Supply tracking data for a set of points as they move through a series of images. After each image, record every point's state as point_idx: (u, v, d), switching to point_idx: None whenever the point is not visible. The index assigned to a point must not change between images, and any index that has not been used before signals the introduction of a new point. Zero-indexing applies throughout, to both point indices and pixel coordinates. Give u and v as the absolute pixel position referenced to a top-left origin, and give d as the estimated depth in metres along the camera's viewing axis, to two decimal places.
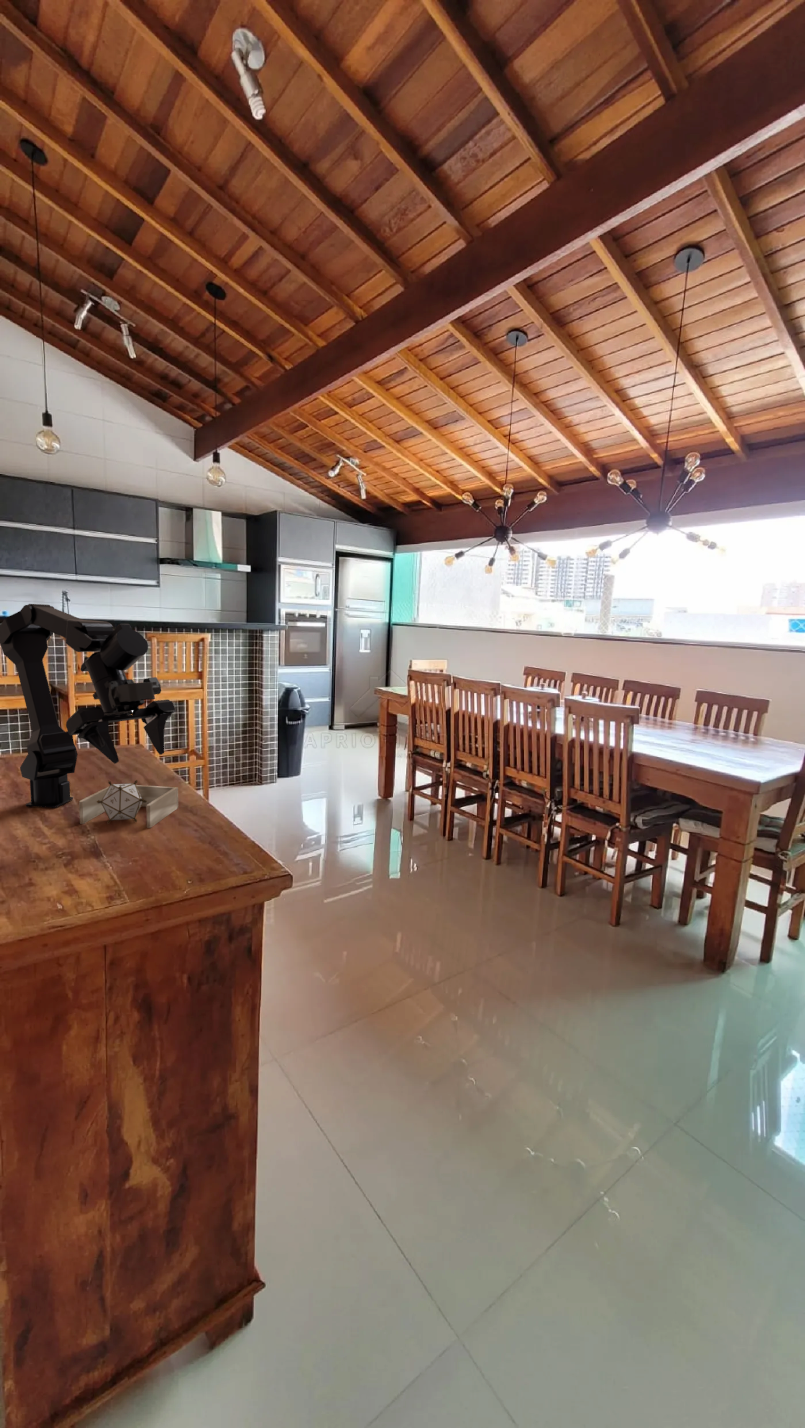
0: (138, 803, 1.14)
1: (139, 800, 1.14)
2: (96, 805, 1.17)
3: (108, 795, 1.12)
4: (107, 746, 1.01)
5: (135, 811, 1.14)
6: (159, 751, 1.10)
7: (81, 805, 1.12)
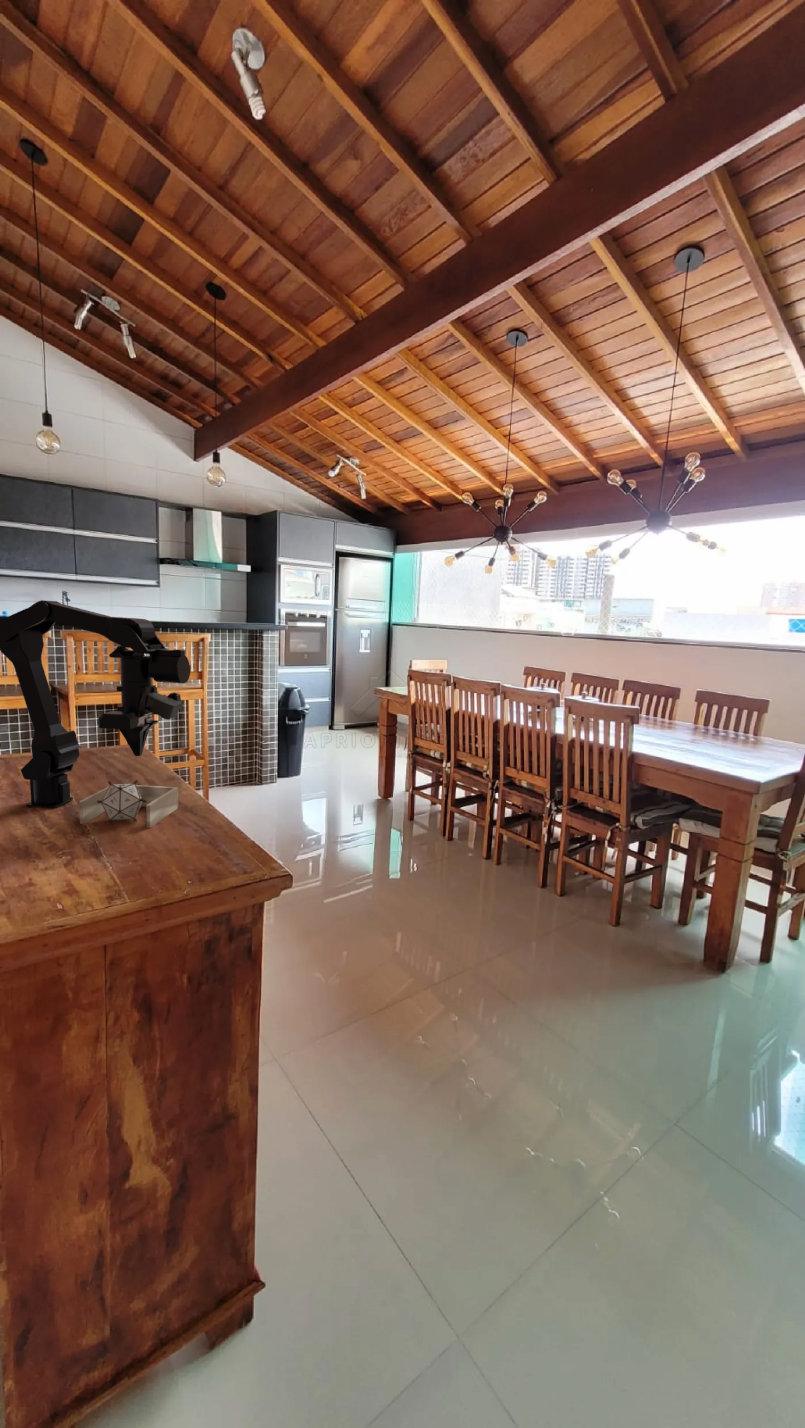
0: (138, 803, 1.14)
1: (139, 800, 1.14)
2: (96, 805, 1.17)
3: (108, 795, 1.12)
4: (138, 743, 1.19)
5: (135, 811, 1.14)
6: None
7: (81, 805, 1.12)
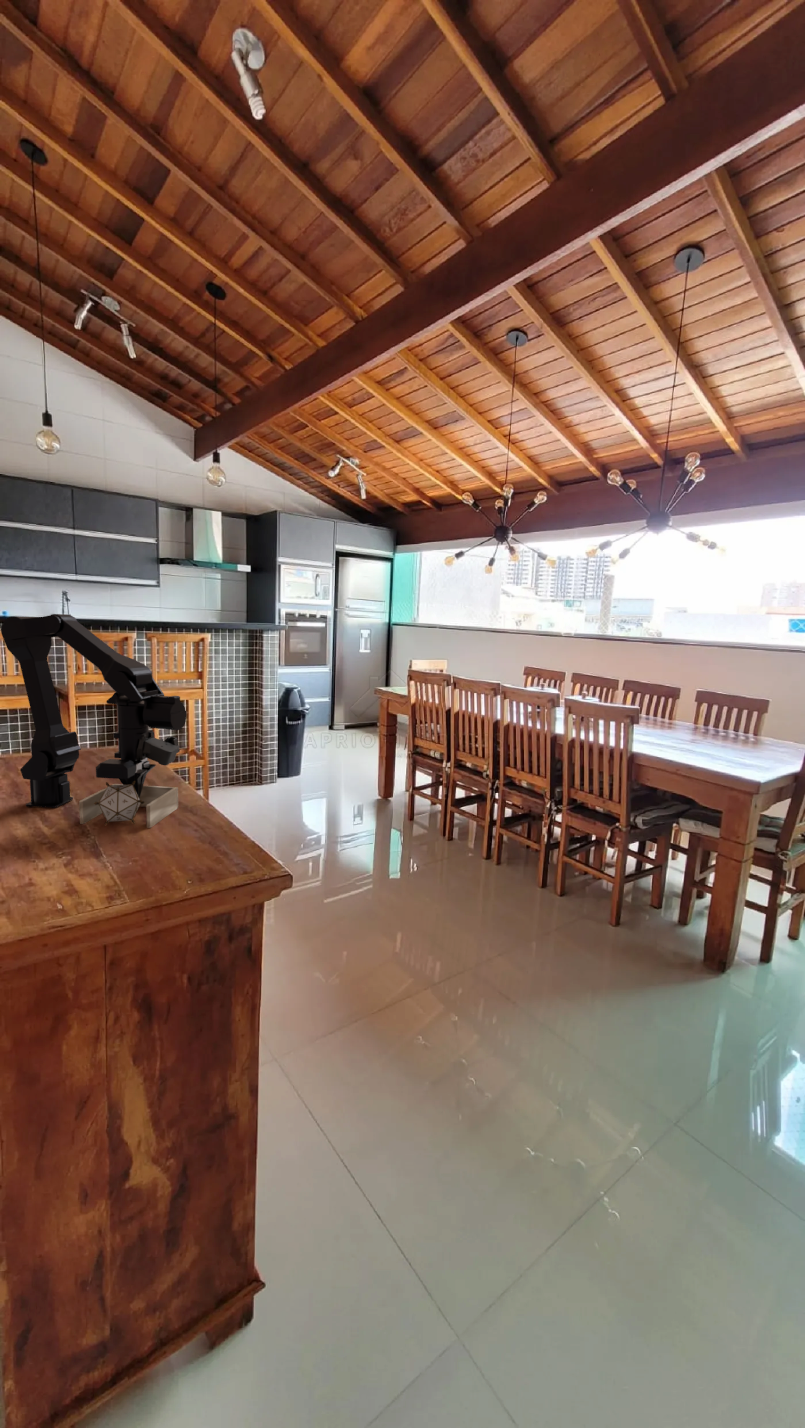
0: (136, 804, 1.13)
1: (137, 801, 1.13)
2: (96, 805, 1.17)
3: (106, 796, 1.11)
4: (136, 788, 1.19)
5: (133, 812, 1.13)
6: None
7: (81, 805, 1.12)
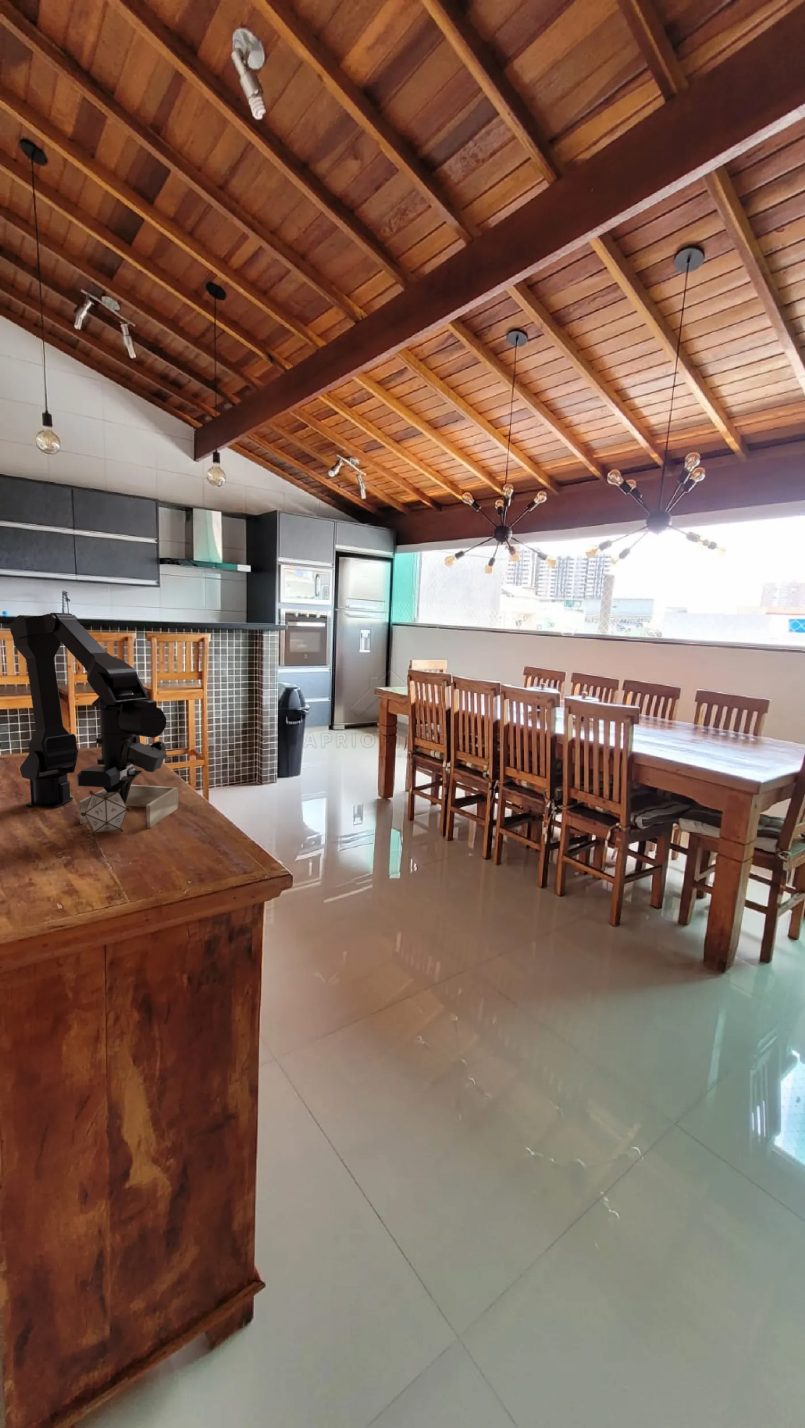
0: (125, 812, 1.08)
1: (126, 809, 1.08)
2: None
3: (92, 806, 1.06)
4: (121, 796, 1.12)
5: (121, 821, 1.08)
6: None
7: (81, 805, 1.12)
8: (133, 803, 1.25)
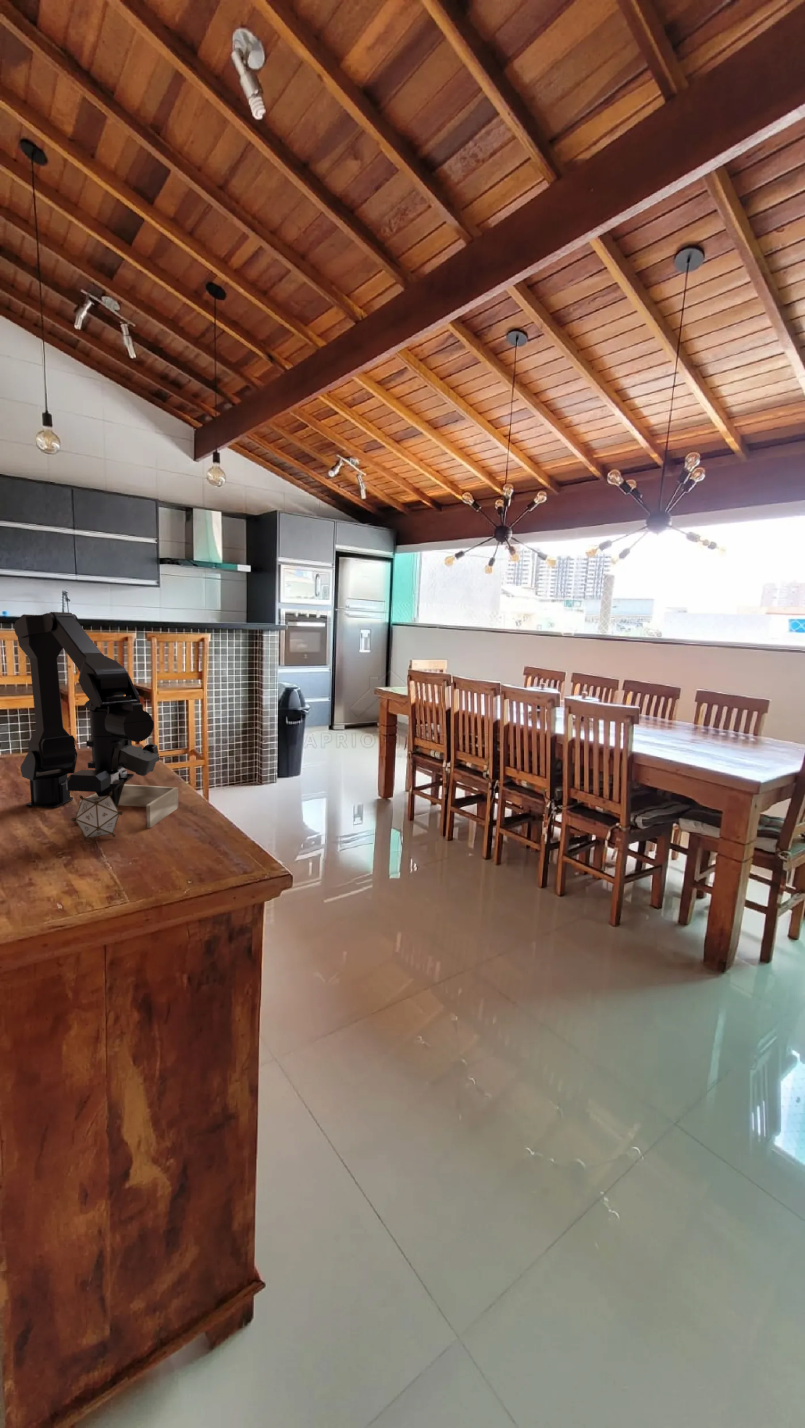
0: (117, 817, 1.05)
1: (118, 813, 1.05)
2: None
3: (83, 811, 1.03)
4: (113, 800, 1.10)
5: (113, 825, 1.06)
6: None
7: None
8: (133, 803, 1.25)
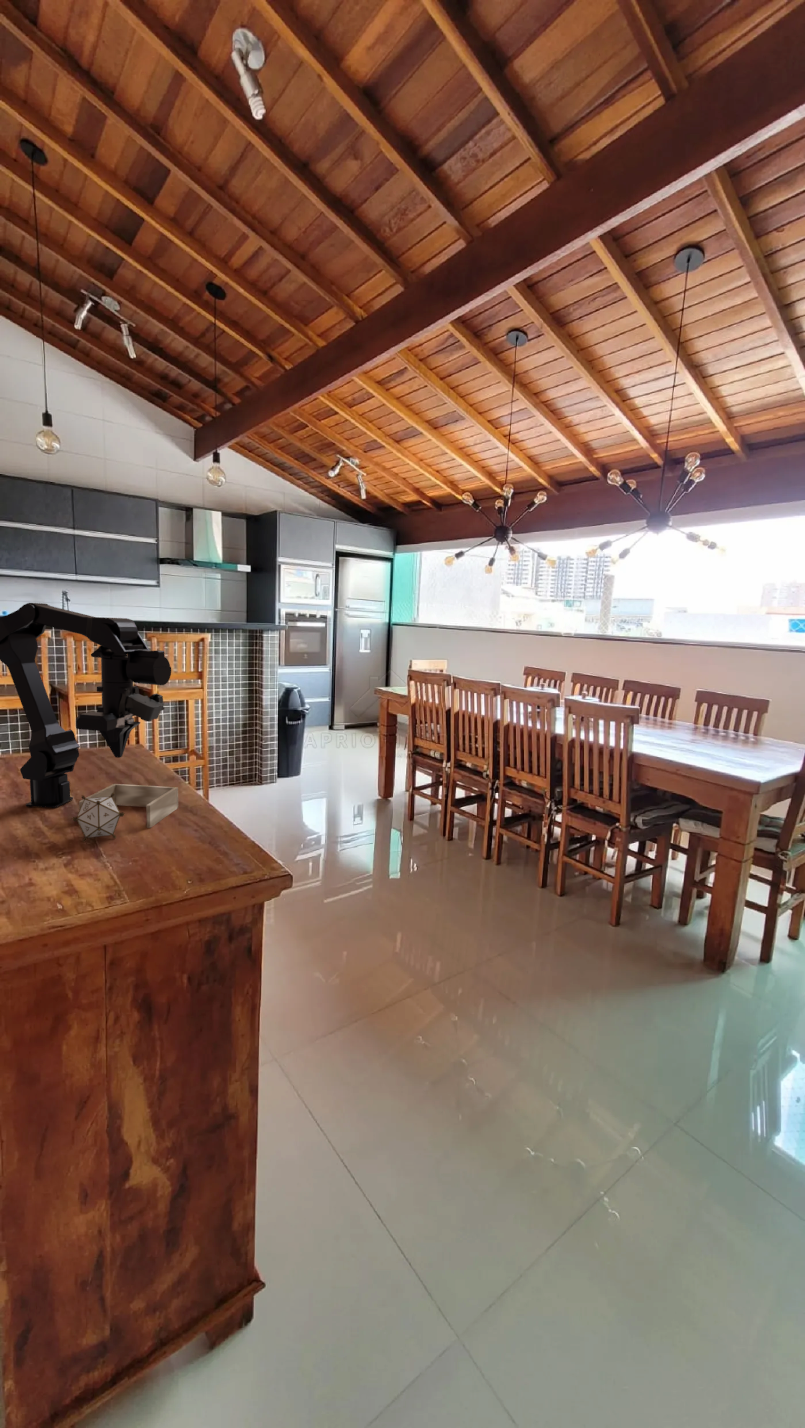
0: (118, 818, 1.06)
1: (119, 814, 1.05)
2: None
3: (85, 810, 1.03)
4: (118, 744, 1.17)
5: (114, 826, 1.06)
6: None
7: None
8: (133, 803, 1.25)
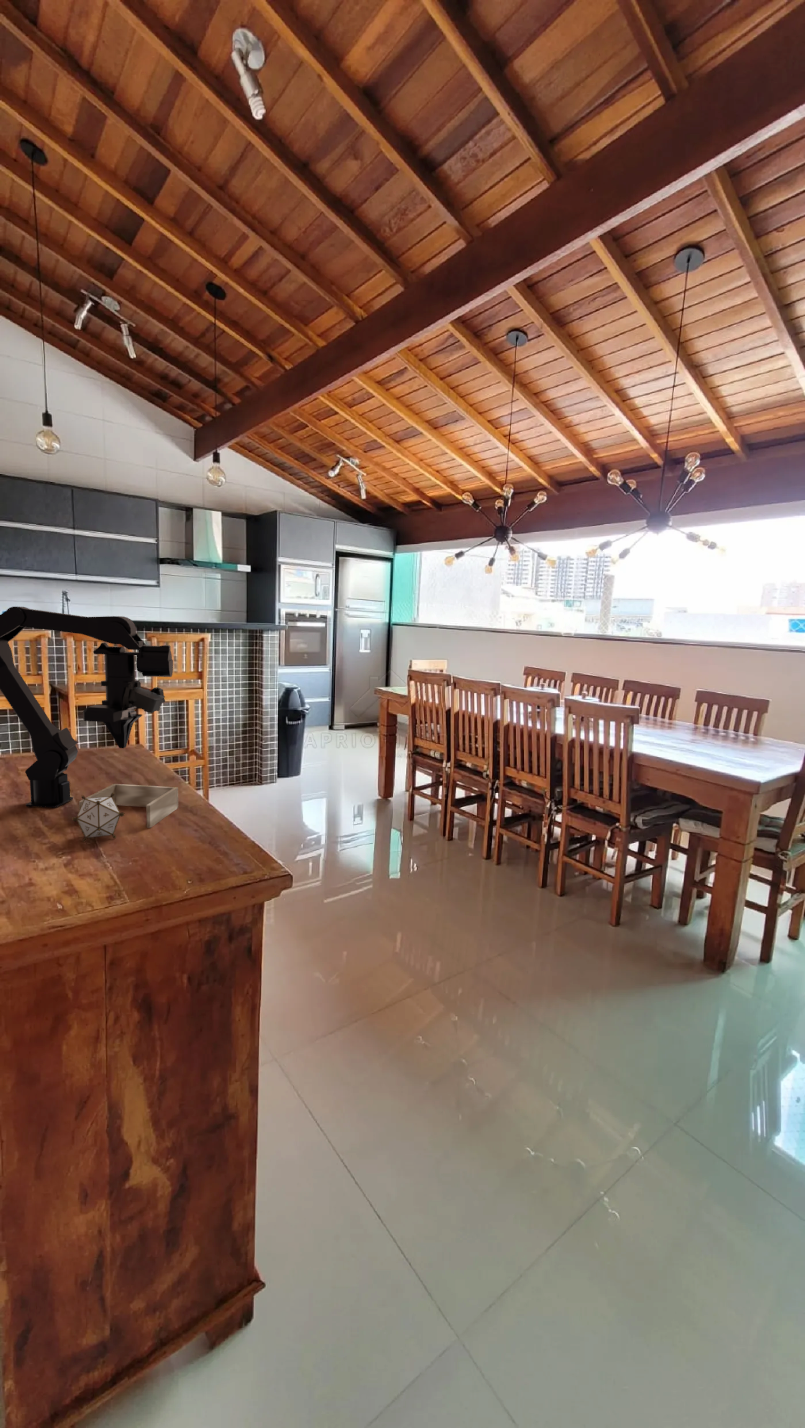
0: (118, 818, 1.06)
1: (119, 814, 1.05)
2: None
3: (84, 810, 1.03)
4: (122, 735, 1.24)
5: (114, 826, 1.06)
6: None
7: None
8: (133, 803, 1.25)
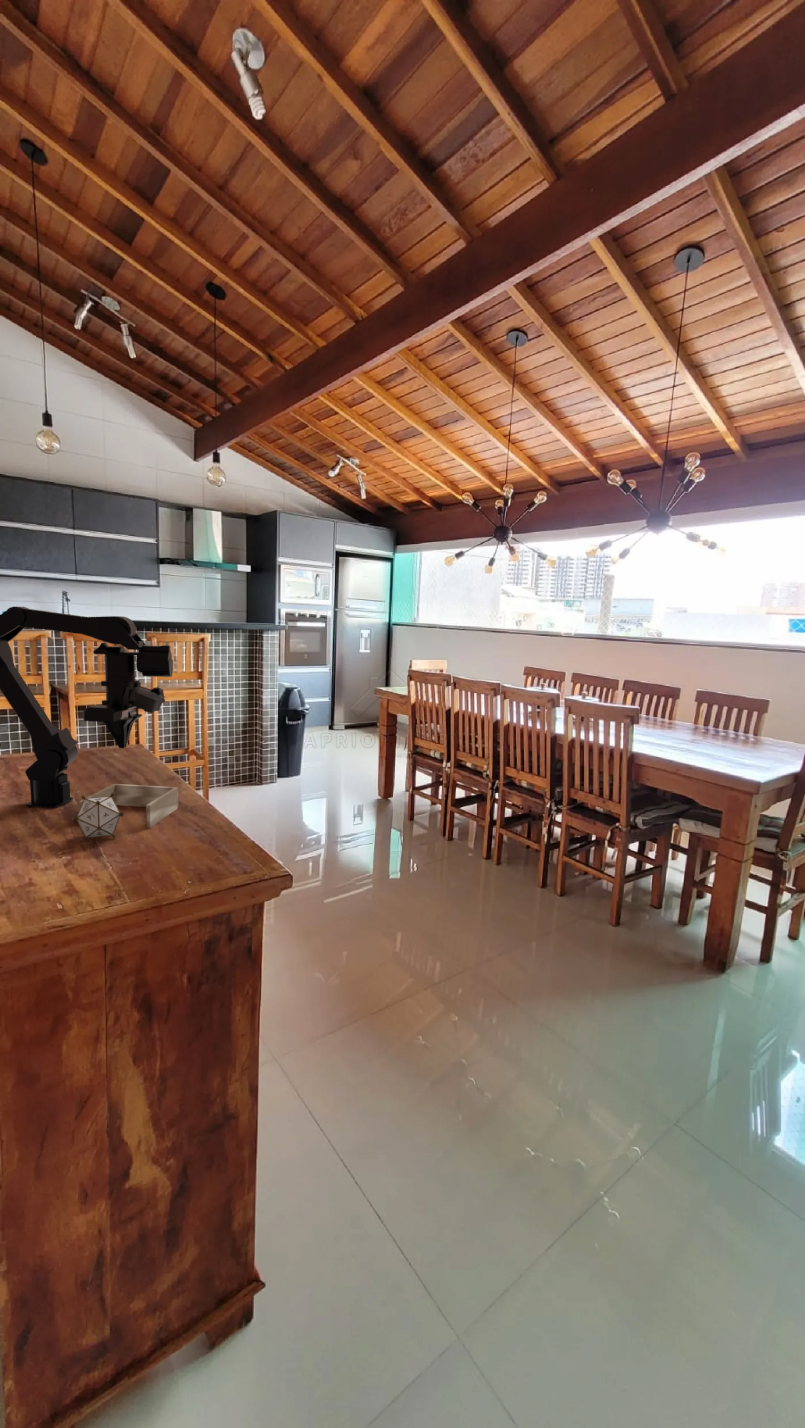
0: (118, 818, 1.06)
1: (119, 814, 1.05)
2: None
3: (85, 810, 1.03)
4: (122, 735, 1.24)
5: (114, 826, 1.06)
6: None
7: None
8: (133, 803, 1.25)
